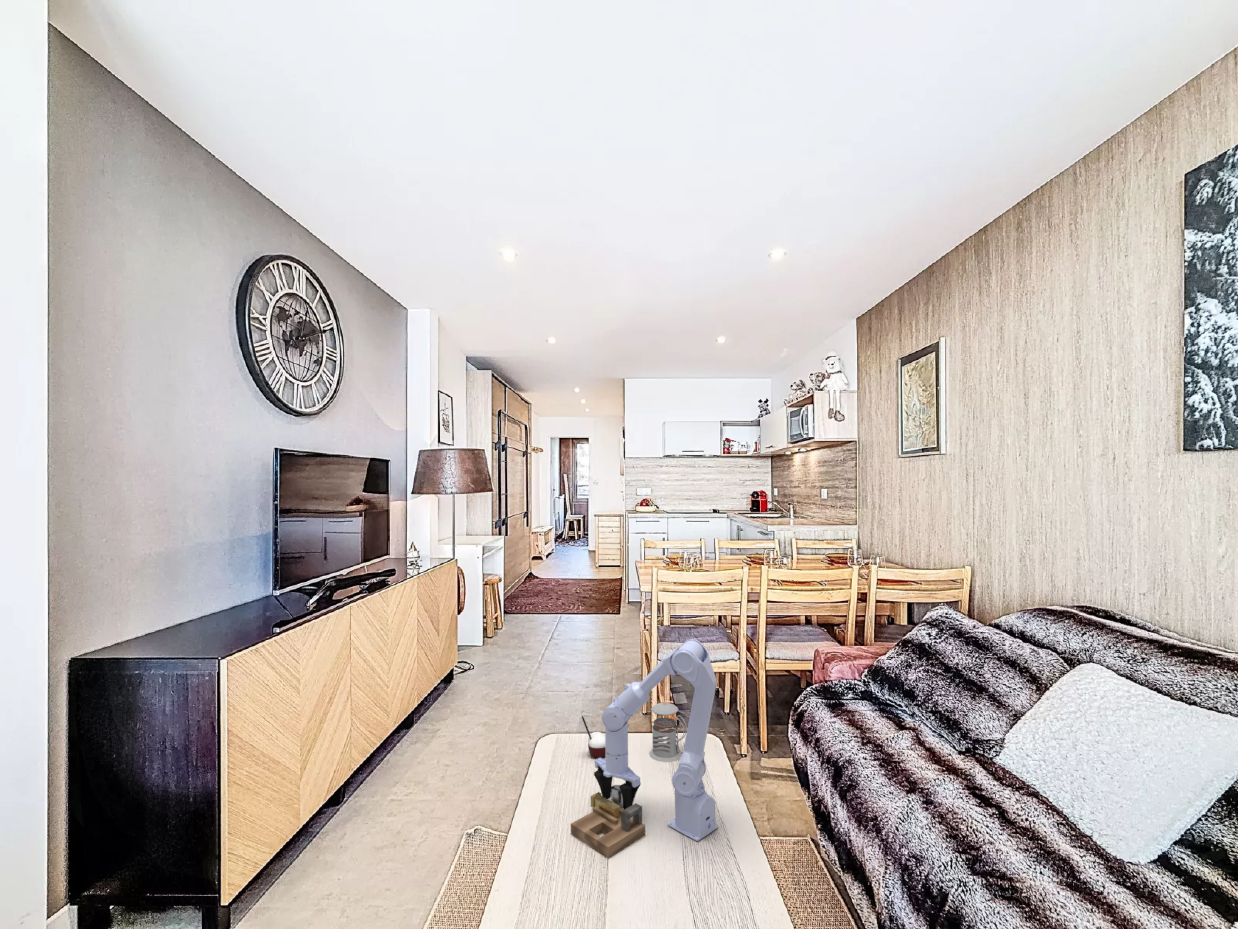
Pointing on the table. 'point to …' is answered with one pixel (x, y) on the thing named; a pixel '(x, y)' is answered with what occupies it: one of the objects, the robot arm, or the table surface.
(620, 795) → the cylinder
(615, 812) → the lock pin
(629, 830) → the dock
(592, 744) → the cocoa
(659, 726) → the french press
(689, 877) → the table surface
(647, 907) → the table surface
